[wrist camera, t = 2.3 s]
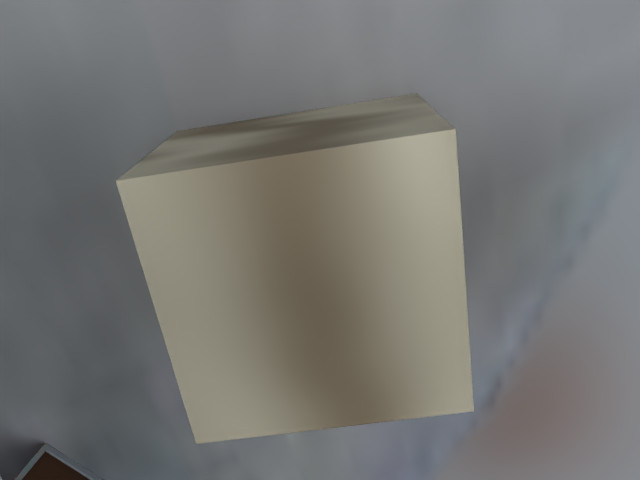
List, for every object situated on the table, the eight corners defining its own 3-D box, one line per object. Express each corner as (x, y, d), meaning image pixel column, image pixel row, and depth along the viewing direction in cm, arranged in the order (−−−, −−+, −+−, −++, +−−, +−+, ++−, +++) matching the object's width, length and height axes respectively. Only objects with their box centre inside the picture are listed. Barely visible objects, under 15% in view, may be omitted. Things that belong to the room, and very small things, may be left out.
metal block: (229, 333, 22) (196, 444, 16) (177, 130, 19) (115, 180, 13) (435, 306, 21) (473, 411, 16) (415, 92, 18) (455, 129, 13)
